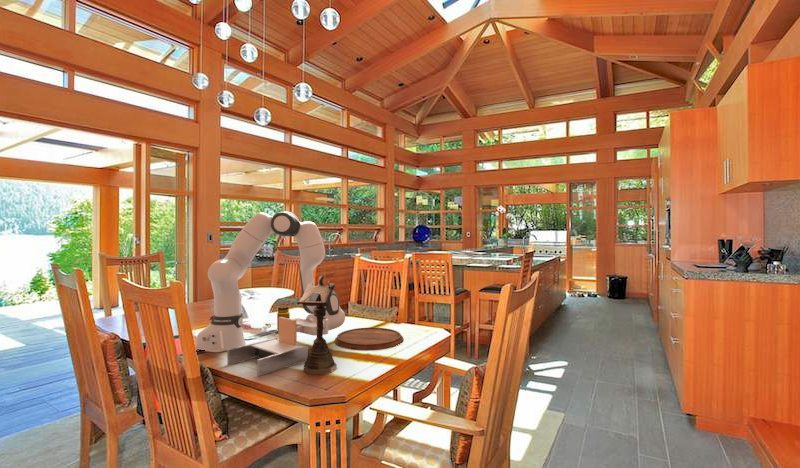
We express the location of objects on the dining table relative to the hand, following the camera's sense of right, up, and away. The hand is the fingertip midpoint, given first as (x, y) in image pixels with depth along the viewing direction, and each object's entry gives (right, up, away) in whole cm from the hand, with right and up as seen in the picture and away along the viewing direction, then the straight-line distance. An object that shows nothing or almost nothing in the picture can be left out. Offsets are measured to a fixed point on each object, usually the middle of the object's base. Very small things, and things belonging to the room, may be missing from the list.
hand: (288, 330), depth 164 cm
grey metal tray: (-6, -11, -8) cm, 14 cm away
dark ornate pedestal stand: (+16, -11, -18) cm, 27 cm away
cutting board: (+31, -11, +23) cm, 40 cm away
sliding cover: (-3, -6, -4) cm, 8 cm away
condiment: (-15, -10, +42) cm, 46 cm away
